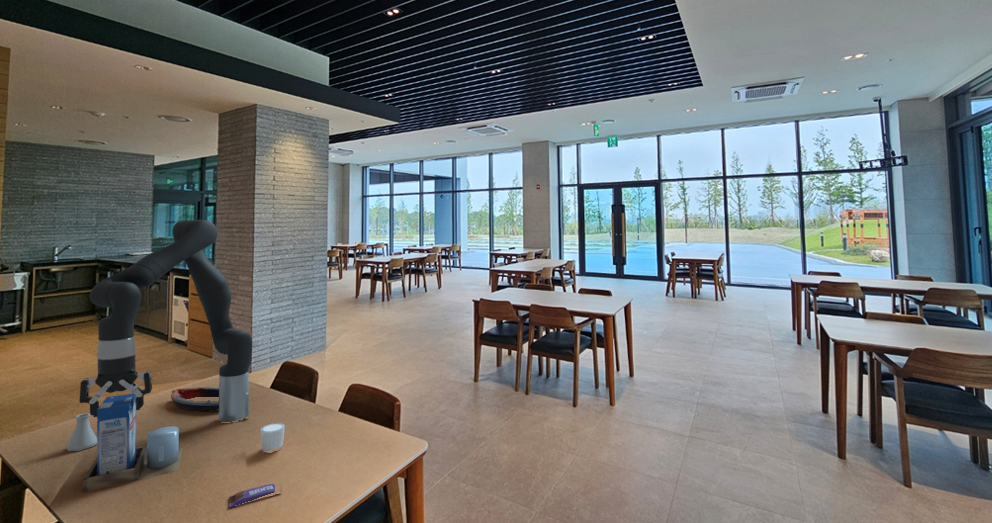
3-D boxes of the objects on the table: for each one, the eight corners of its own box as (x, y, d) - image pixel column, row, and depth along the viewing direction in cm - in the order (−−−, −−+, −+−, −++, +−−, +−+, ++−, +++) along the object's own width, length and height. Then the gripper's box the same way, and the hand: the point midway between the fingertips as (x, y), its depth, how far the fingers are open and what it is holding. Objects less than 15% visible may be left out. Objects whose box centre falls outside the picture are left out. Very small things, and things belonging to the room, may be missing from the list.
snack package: (279, 479, 109) (281, 489, 104) (279, 486, 109) (281, 496, 104) (229, 492, 102) (228, 503, 98) (229, 500, 102) (228, 511, 98)
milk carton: (129, 477, 107) (129, 404, 107) (97, 484, 104) (97, 409, 103) (136, 460, 116) (136, 392, 115) (107, 466, 112) (106, 396, 112)
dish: (211, 418, 149) (211, 405, 149) (156, 405, 158) (156, 393, 158) (249, 403, 163) (249, 391, 163) (196, 392, 173) (196, 381, 173)
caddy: (182, 452, 124) (182, 438, 124) (177, 475, 111) (178, 460, 111) (98, 470, 113) (98, 454, 113) (82, 498, 101) (82, 480, 100)
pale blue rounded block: (179, 453, 120) (179, 424, 120) (176, 466, 113) (176, 435, 113) (149, 460, 116) (149, 429, 116) (144, 473, 109) (144, 441, 109)
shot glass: (289, 446, 129) (289, 425, 129) (269, 456, 123) (269, 434, 123) (275, 441, 132) (275, 421, 132) (255, 451, 126) (255, 429, 125)
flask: (77, 453, 121) (77, 421, 121) (59, 450, 123) (59, 418, 123) (105, 442, 129) (105, 412, 128) (88, 439, 130) (88, 409, 130)
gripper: (153, 348, 116) (153, 402, 116) (84, 354, 108) (85, 413, 108) (148, 354, 109) (149, 412, 110) (75, 361, 101) (76, 423, 102)
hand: (117, 412), depth 109 cm, fingers open, 8 cm apart
